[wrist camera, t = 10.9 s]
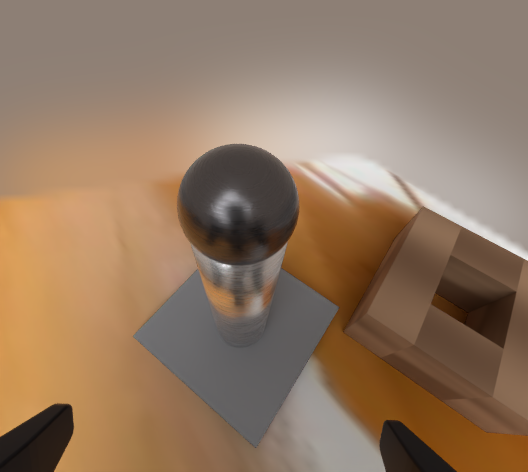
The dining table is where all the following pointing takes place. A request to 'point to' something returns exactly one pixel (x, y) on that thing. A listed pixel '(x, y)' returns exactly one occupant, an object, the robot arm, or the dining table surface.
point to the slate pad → (239, 351)
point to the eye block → (452, 320)
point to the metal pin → (238, 233)
